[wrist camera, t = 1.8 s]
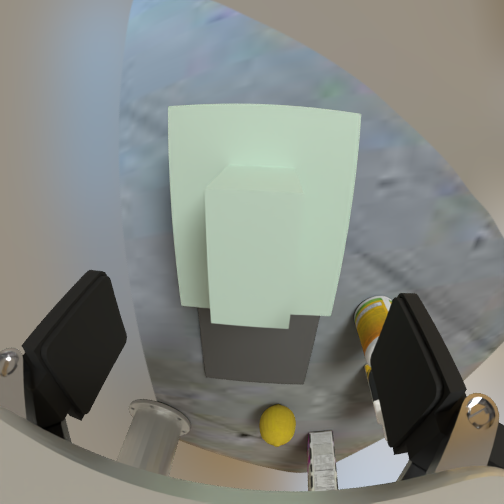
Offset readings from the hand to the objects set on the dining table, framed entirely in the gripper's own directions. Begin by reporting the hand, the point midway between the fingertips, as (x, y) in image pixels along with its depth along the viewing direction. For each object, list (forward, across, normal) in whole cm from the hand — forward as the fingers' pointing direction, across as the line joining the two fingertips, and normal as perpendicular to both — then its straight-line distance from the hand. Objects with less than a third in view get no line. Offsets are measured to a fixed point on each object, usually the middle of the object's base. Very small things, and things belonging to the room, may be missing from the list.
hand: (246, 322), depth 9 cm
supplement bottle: (+20, -14, +15) cm, 28 cm away
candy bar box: (+19, -14, +50) cm, 55 cm away
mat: (+19, 0, +19) cm, 27 cm away
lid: (+12, 0, +1) cm, 12 cm away
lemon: (+19, -4, +35) cm, 40 cm away
